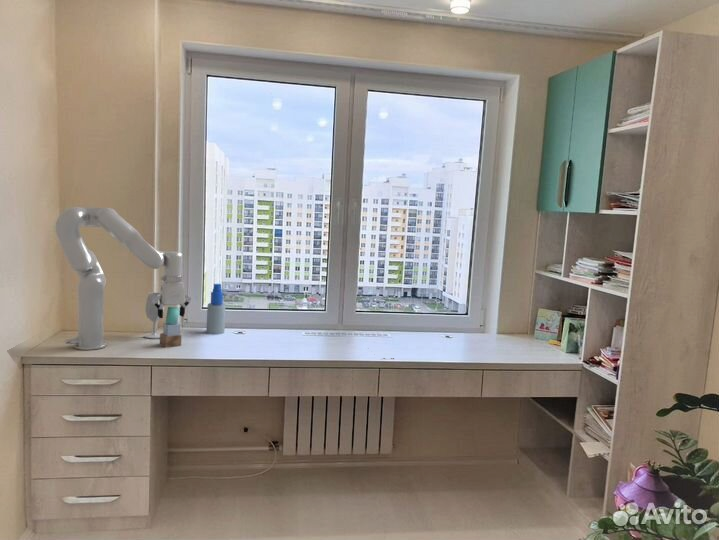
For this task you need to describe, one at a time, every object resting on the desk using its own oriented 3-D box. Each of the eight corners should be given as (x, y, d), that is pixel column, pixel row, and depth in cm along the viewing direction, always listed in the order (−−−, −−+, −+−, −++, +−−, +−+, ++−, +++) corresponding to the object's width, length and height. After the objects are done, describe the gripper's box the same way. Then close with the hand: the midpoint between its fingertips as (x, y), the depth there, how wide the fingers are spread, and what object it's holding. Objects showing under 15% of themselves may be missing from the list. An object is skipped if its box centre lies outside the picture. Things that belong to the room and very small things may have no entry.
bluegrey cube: (167, 336, 225) (168, 325, 225) (163, 333, 229) (163, 322, 229) (179, 335, 229) (180, 324, 228) (175, 332, 233) (175, 321, 232)
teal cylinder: (168, 324, 225) (170, 308, 224) (163, 321, 228) (165, 306, 228) (179, 324, 228) (181, 309, 228) (174, 321, 232) (176, 306, 232)
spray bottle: (205, 333, 254) (207, 284, 251) (207, 329, 263) (209, 282, 260) (223, 334, 256) (225, 285, 253) (225, 330, 264) (227, 283, 262)
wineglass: (167, 335, 245) (168, 293, 243) (158, 339, 236) (159, 295, 234) (150, 334, 246) (151, 291, 244) (140, 338, 237) (141, 294, 235)
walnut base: (165, 347, 224) (166, 336, 224) (159, 344, 230) (160, 333, 229) (181, 346, 229) (181, 335, 229) (174, 342, 234) (175, 332, 234)
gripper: (156, 280, 218) (155, 320, 219) (194, 280, 229) (193, 317, 231) (150, 278, 223) (148, 316, 225) (187, 277, 235) (186, 314, 237)
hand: (171, 316), depth 228 cm, fingers open, 9 cm apart
